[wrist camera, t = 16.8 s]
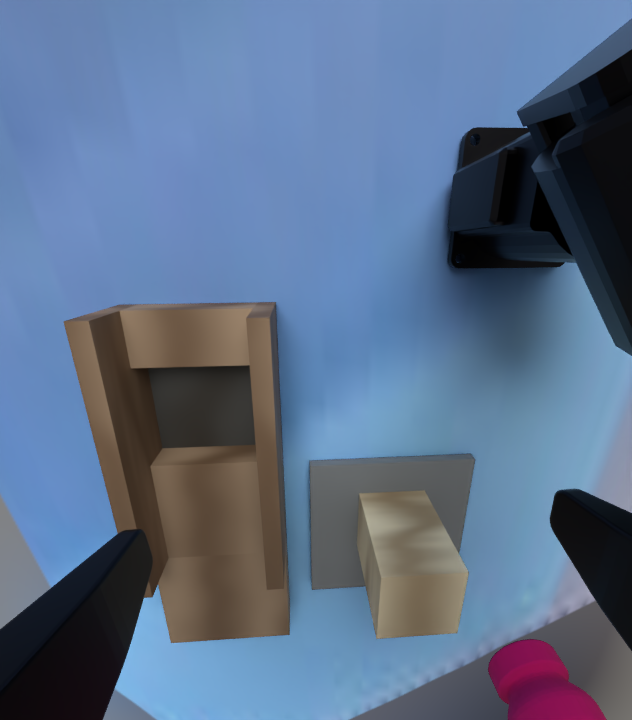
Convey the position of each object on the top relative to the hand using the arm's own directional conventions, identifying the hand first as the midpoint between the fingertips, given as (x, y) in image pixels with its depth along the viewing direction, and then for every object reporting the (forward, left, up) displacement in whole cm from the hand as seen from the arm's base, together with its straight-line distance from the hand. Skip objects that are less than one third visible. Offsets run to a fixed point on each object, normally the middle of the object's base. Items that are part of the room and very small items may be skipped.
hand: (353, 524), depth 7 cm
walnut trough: (+7, +8, -13) cm, 17 cm away
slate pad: (-5, +13, -13) cm, 19 cm away
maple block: (-5, +12, -12) cm, 18 cm away
